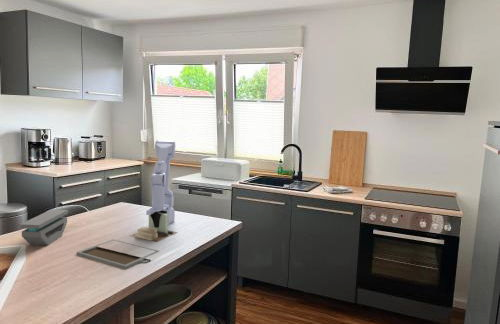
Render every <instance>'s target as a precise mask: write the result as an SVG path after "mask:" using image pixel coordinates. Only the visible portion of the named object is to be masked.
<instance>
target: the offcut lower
mask: <svg viewBox="0 0 500 324" xmlns="http://www.w3.org/2000/svg"><path fill="white" fill-rule="evenodd" d="M134 234H135V237H138V238H137V239H140V238H143V239H142V240H145V239H147V240H146V241H149V240H153V239H155V238H158V233H156V234H154V235H145V234H139V233H138V231H137V232H135V233H134ZM135 237H134V238H135Z"/></svg>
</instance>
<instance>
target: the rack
mask: <svg viewBox="0 0 500 324" xmlns="http://www.w3.org/2000/svg"><path fill="white" fill-rule="evenodd" d="M157 233H158V238H155V239H153V240H147V239H143V238H138V237H135V233H133V234H130V235H129V237H131V238H134V239H135V238H137V239H141V240H145V241H150V242H155V243H158V242H160V241H162V240H164V239H166V238H167V239H168V237H170V236H174V235H176V234H178V233H179V232H177V231H173V230H169V229H168V233H165V232H160V231H157Z"/></svg>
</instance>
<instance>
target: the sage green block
mask: <svg viewBox="0 0 500 324" xmlns="http://www.w3.org/2000/svg"><path fill="white" fill-rule="evenodd" d="M159 214H161V216H160V220H159V227H158V228H157V227H154V223H153V220H152V218H151V216H150V215H148V228H155V229H157V231H160V232H165V233H168V230H169V224H168V214H164V213H159Z"/></svg>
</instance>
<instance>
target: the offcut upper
mask: <svg viewBox="0 0 500 324" xmlns="http://www.w3.org/2000/svg"><path fill="white" fill-rule="evenodd" d="M137 232H138V233H139V234H145V235H154V234H156V233H157V229H155V228H149V226H142V227H138V228H137Z"/></svg>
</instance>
